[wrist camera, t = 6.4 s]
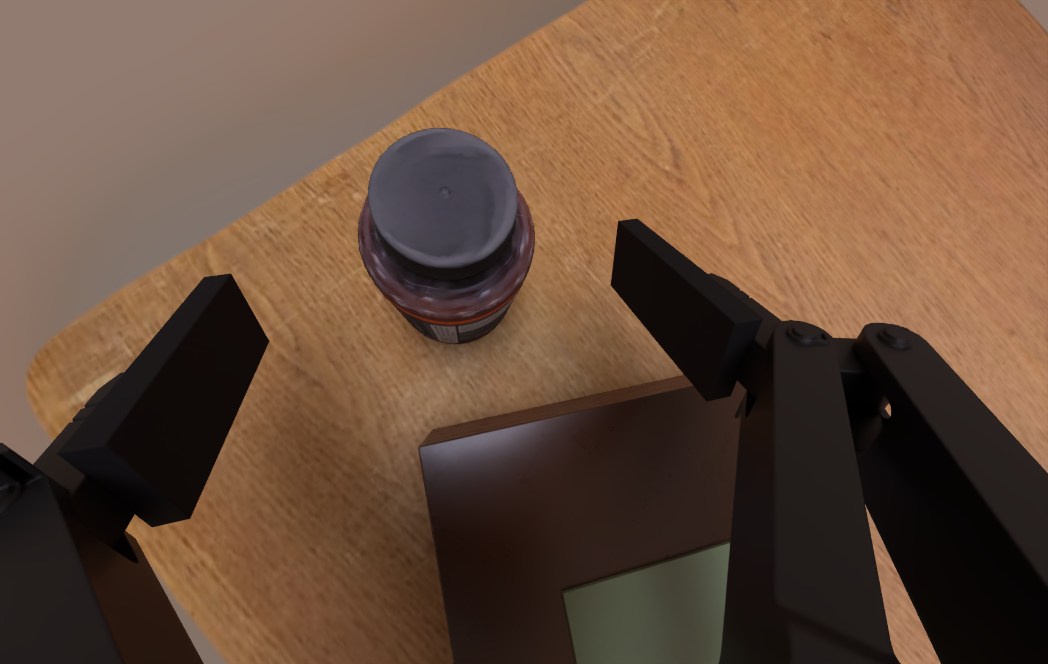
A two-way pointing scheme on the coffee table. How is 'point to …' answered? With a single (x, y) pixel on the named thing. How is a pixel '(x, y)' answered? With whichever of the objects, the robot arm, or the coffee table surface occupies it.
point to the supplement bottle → (446, 233)
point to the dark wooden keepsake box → (587, 528)
